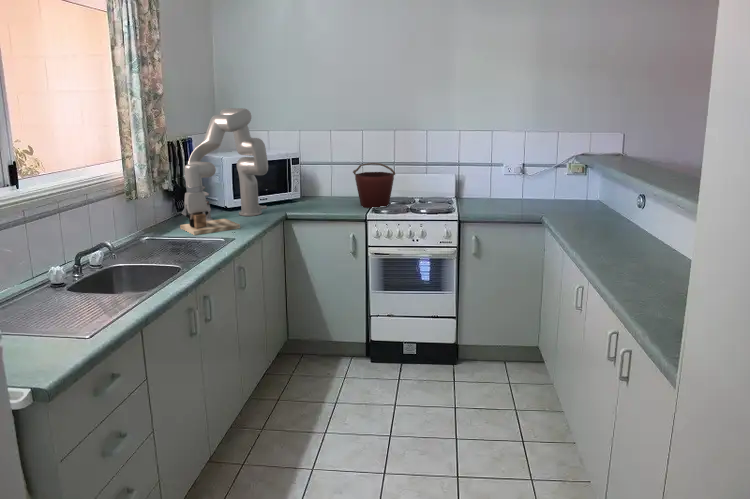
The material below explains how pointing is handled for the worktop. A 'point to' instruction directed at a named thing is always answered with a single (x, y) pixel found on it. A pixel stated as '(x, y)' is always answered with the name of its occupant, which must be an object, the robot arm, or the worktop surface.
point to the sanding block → (199, 220)
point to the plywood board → (212, 227)
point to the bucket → (374, 187)
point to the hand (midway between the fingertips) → (197, 225)
